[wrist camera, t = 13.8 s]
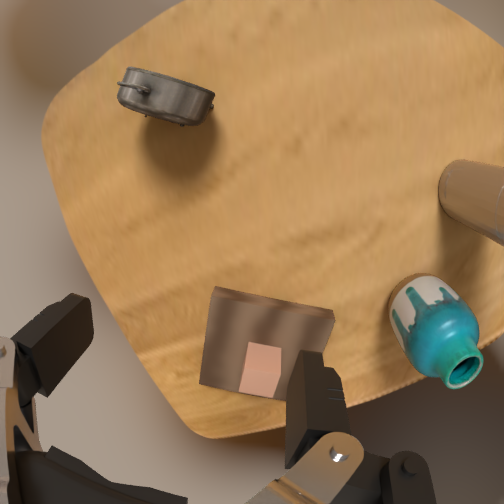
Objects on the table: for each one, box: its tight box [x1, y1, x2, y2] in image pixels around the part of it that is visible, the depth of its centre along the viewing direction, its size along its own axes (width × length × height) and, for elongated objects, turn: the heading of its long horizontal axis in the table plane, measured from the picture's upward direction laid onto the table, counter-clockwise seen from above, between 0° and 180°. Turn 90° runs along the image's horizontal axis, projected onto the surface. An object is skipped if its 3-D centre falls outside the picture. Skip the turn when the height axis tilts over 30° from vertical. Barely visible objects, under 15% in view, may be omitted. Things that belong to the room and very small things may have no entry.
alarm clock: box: [117, 67, 215, 127], centre depth 29 cm, size 11×5×16 cm, turn 66°
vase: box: [388, 273, 483, 389], centre depth 34 cm, size 11×11×19 cm
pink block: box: [239, 342, 281, 398], centre depth 43 cm, size 5×5×6 cm
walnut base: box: [199, 286, 335, 401], centre depth 47 cm, size 18×18×3 cm
